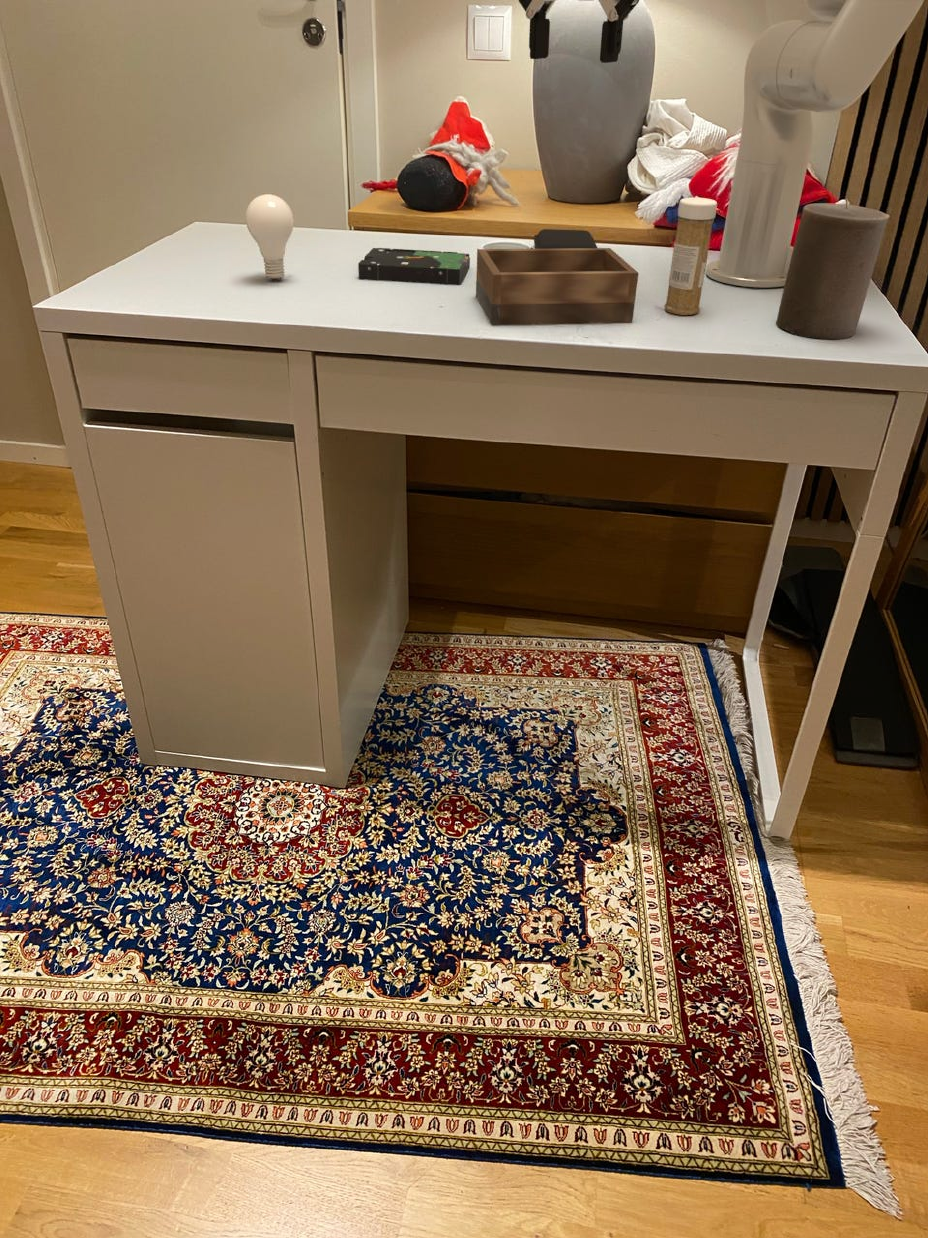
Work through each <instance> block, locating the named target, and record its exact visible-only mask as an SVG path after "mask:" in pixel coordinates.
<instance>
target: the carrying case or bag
mask: <svg viewBox="0 0 928 1238" xmlns="http://www.w3.org/2000/svg"><path fill="white" fill-rule="evenodd" d="M533 244H534V248H533V247H530V248H529V249H561V248H598V246H597V244H596V241H595V239H594V237H593V236H592V234H591V233H590V232H589V231H588V230H583V229H559V228H558V229H556V228H555V229H551V228H550V229H549V228H546V229H542V230H540V231H539V232H538V233H537V234H534V238H533Z"/></svg>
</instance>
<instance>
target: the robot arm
mask: <svg viewBox="0 0 928 1238" xmlns="http://www.w3.org/2000/svg"><path fill="white" fill-rule="evenodd" d="M556 1H557V0H518V2H519V4H520V5H521V7H522V8H523V10H524V13H525V17H526V19H528V20H529V36H528V41H529V42H528V48H529V59H530V60H539V59H540V60H541V59H547V58H548V56H549V50H550V30H551V29H550V27H551V21H550V18H547V14H548V13H549V12H550V11H551V8H552V7H553V5H554V4H555V2H556ZM579 1H580V2H581V1H593V0H579ZM803 1H804V4H805V6H806V9H807V11H808V12H809V13H810V14H811V15H812V16H813V17H816V18H817V19H819V20H807V19H792V20H791V19H789V20H785V21H781V22H777V23H775V24H773V25H770V26H769V27H768V28H766V29H764V31H763V32H762V33H761V34H760V35H759V36H757V38H756V40H755V41H754V42H753V45H752V46H751V48H750V51H749V53H748V55H747V59H746V63H745V67H744V80H743V81H744V83H743V84H744V85H743V86H744V87H743V88H744V89H743V90H744V91H743V92H744V93H743V98H744V99H743V116H742V117H743V118H742V127H741V132H740V133H741V134H740V139H739V143H738V151H737V157H736V161H735V167H734V174H733V178H732V184H731V190H730V194H729V201H728V207H727V212H726V216H725V217H726V218H725V222H724V229H723V235H722V240H721V244H720V245H721V246H720V252H719V257H718V260H715V261H712V262H711V261H710V263H708V264H706V269H705V275H707V276H708V277H709V278H710V279H713V280H714V281H718V282H719V283H724V284H727V285H728V284H729V285H732V286H739V287H744V288H745V287H746V288H761V289H762V288H763V289H765V288H766V289H767V288H780V287H784V286H785V281H786V277H787V274H788V270H789V265H790V261H791V256H792V252H793V249H794V246H792V245H791V243H792V238H793V234H794V229H795V224H796V220H797V215H798V210H799V206H800V201H801V198H802V192H803V189H804V183H805V177H806V175H807V170H808V165H809V161H810V157H811V151H812V146H813V135H814V134H813V118H812V112H816V113H825V114H827V113H828V114H830V113H837V112H841V111H844V110H845V109H847V108H849V107H850V106H852V105H853V104H854V103H855V102H857V101H858V100H859V99H860V97H861V96H862V95H863V94H864V93H865V92H866V91H867V89H868V88H869V86H870V85H871V84H872V83H873V81H874V80H875V78H876V76H877V75H878V74H879V73H880V71H881V70H882V68H883V66H884V65H885V64H886V61H887V60H889V59H888V58H889V57H890V56H891V54H892V52H893V51H894V50H895V48H896V47H897V45H898V44H899V42H900V40H901V39H902V37H903V35H904V34H905V33H906V31H907V30H908V29H909V27H910V25H911V23H912V22H913V20H914V19H915V17H916V15H917V14H918V12H919V11H920V9H921V7H922V5H923V3H924V1H925V0H803ZM598 3H599V4H600V6H601V7H602V10H603V11H604V14H605V16H606V17H607V20H606V21H605V20H603V22H602V25H601V37H600V52H599V61H600V62H601V63H602V64H607V63H616V62H618V59H619V54H621V50H622V40H623V29H624V22H625V21H626V20H627V19H628V17H629V14H631V12H632V11H633V10H634V8H635V7H636V6H637V5H638V4H639V3H640V0H598ZM821 20H822V21H821Z"/></svg>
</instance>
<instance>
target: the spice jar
mask: <svg viewBox="0 0 928 1238" xmlns="http://www.w3.org/2000/svg"><path fill="white" fill-rule="evenodd" d="M717 207H718V203H717V201H716V200H714V199H711V198H705V197H684V198H681V199H680V200H679V204H678V209H677V216H678V217H677V227H676V234H675V239H674V244H673V250H672V258H671V264H670V271H669V277H668V288H667V296H666V302H665V304H664V310H665V311H667V312H668V313H671V314H673V315H680V316H692V315H695V314H698V313H699V311H700V309H701V307H700V301H701V297H702V289H703V287H704V281H705V277H706V276H705V275H706V269H707V261H708V260H707V259H708V255H709V247H710V242H711V234H712V227H713V223H714V221H715V218H716V214H717Z"/></svg>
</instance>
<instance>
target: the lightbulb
mask: <svg viewBox="0 0 928 1238" xmlns="http://www.w3.org/2000/svg"><path fill="white" fill-rule="evenodd" d="M245 224H246V228H247V229H248V232H249V233H250V235H251V237H252V239H254V241H255V242H256V243H257V246H258V248H259V252H260V255H261V256H262V258H263V263H264V265H263V266H264V272H265V273H264V277H267V278H268V279H269V280H271V281H274V282H277V281H280V280H281V279H282V278H284V277H285V268H284V267H285V265H284V260H285V259H284V257H285V254H286V246H287V243H288V241H289V238H290V237H291V235H292V232H293V229H294V224H295V220H294V214H293V212H292V209H291V207H290V206H289V204H288V203H287V202H286V201H285V200H284V199H283V198H282V197H279V196H278V195H274V194H270V193H268V194H266V193H265V194H260V195H258V196H256V197H255V198H254V199H252V200H251V201H250V203H249V204H248V206H247V208H246V211H245Z"/></svg>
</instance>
